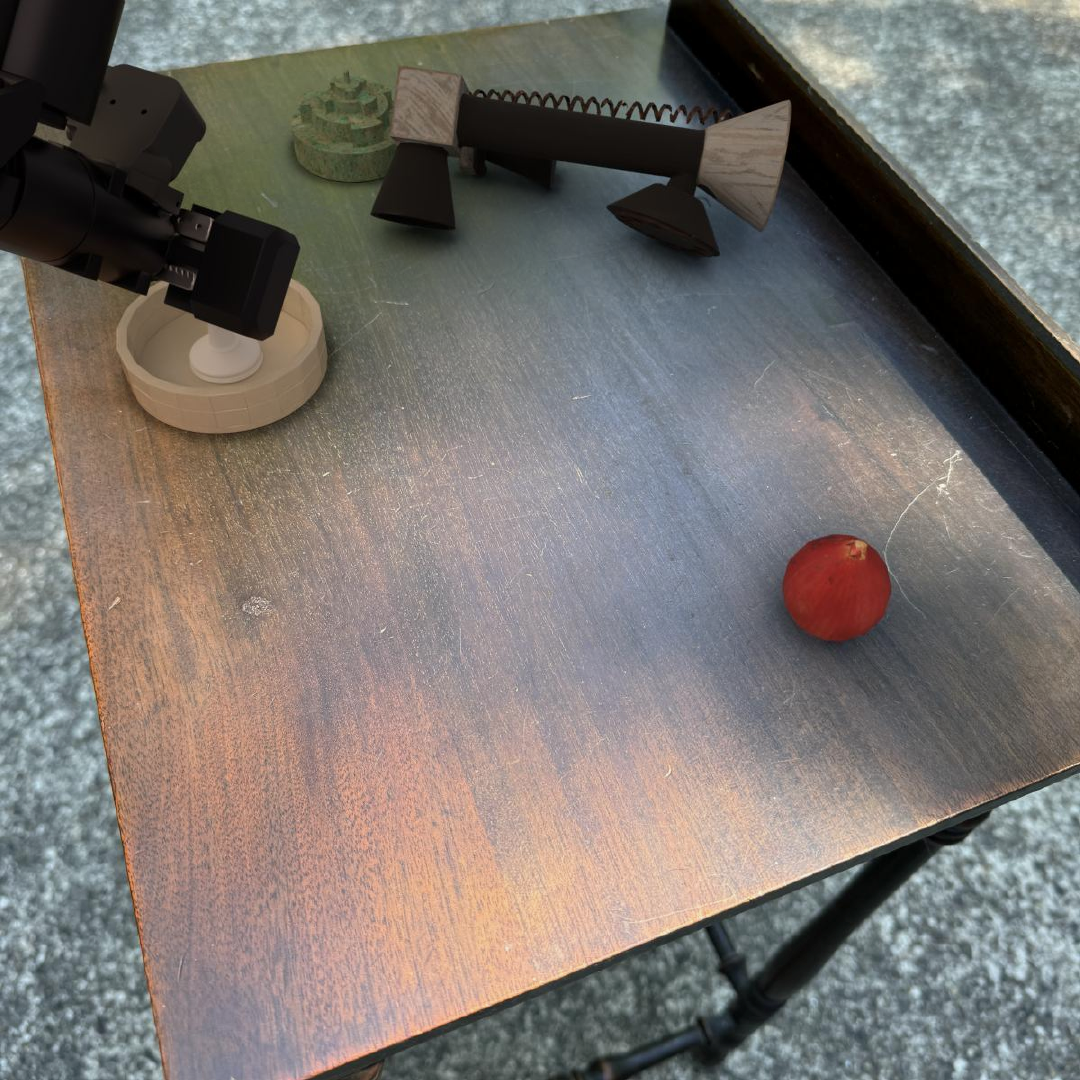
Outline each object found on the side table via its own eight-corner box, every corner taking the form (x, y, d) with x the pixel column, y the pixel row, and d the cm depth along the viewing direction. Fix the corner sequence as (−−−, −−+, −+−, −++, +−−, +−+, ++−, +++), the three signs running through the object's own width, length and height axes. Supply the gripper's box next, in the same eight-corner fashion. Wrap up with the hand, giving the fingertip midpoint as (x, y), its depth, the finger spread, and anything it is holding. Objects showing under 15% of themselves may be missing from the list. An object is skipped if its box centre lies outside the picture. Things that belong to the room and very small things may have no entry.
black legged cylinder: (736, 285, 88) (397, 232, 89) (764, 133, 86) (416, 81, 87) (764, 268, 73) (356, 206, 74) (798, 84, 71) (378, 22, 72)
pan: (130, 447, 66) (115, 407, 63) (130, 315, 74) (116, 275, 71) (338, 419, 68) (332, 380, 66) (316, 294, 76) (310, 255, 73)
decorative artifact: (320, 112, 92) (277, 170, 86) (311, 33, 87) (263, 90, 81) (426, 130, 91) (389, 191, 85) (423, 53, 86) (384, 111, 80)
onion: (751, 599, 61) (783, 513, 54) (834, 574, 62) (874, 488, 56) (800, 679, 57) (840, 597, 51) (886, 651, 59) (935, 568, 53)
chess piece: (177, 375, 69) (140, 250, 61) (209, 331, 72) (178, 206, 64) (244, 390, 68) (216, 265, 61) (274, 344, 72) (250, 220, 64)
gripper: (251, 92, 48) (384, 188, 63) (-57, -1, 52) (137, 110, 67) (184, 320, 49) (329, 361, 64) (-111, 211, 53) (91, 274, 68)
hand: (220, 270), depth 66 cm, fingers closed on chess piece
